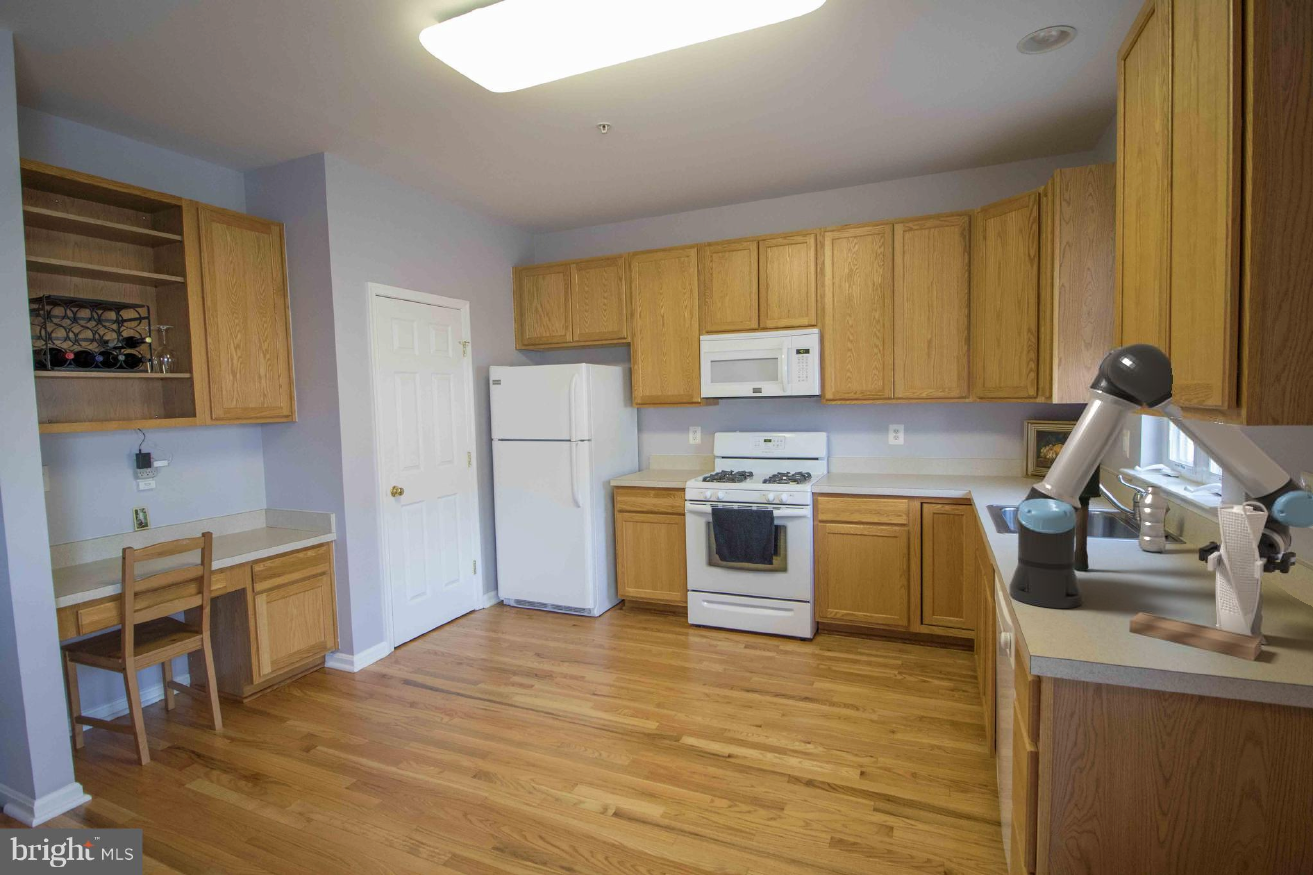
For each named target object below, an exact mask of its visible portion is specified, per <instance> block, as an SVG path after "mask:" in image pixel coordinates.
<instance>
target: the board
mask: <svg viewBox="0 0 1313 875" xmlns="http://www.w3.org/2000/svg"><path fill="white" fill-rule="evenodd" d="M1128 630H1129V632H1130V633H1133V634H1138V635H1143V636H1146V637H1151V638H1154V639H1160V640H1164V641H1166V642H1167V641H1168V642H1173V643H1175V644H1176V643H1177V644H1181V645H1183V646H1184V645H1185V646H1189V647H1193V648H1198V649H1203V650H1206V651H1210V652H1215V653H1218V654H1223V655H1228V656H1232V657H1237V658H1241V659H1244V660H1249V661H1255V659H1256V658H1257V657H1258V655H1259V654H1260V653H1261V651H1262V644H1261V640H1262V638H1260V637H1255V636H1251V635H1246V634H1241V633H1236V632H1232V631H1227V630H1222V629H1218V628H1216V627H1213V626H1207V625H1202V624H1197V623H1195V622H1188V621H1183V620H1179V619H1173V618H1170V617H1165V616H1160V615H1156V614H1150V613H1146V612H1141V611H1140V612H1138V613H1137V614H1136V615H1135V616H1133V617H1131V619H1129V628H1128Z"/></svg>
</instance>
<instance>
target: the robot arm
mask: <svg viewBox="0 0 1313 875" xmlns="http://www.w3.org/2000/svg"><path fill="white" fill-rule="evenodd" d="M1159 348H1160V347H1158V346H1156V345H1153V344H1149V343H1136V344H1135V343H1133V344H1130V345H1127V346H1126V345H1125V346H1121V347H1118V348H1116V349H1114V350H1112V351H1110V352H1109V353H1107V355H1105V356H1104V358H1103V359H1102V360H1101V363H1100V364H1099V368H1098V373H1097V374H1096V376H1095V378H1094V380H1093V381H1092V382H1091V385H1090V386H1089V388H1088V391H1089V393H1090V396H1091V398H1090V400H1089V402H1088V404H1087V405H1086V407H1085V408H1084V410H1083V412H1082V414H1081V415H1080V417H1079V419H1078V421H1077V422H1076V424H1075V426H1074V428H1073V429H1072V431H1071V433H1070V434H1069V436H1068V438H1067V440H1066V441H1065V442H1064V444H1063V446H1062V447H1061V450H1060V452H1059V453H1058V455H1057V457H1056V459H1055V460H1054V461H1053V464H1052V465H1051V466H1050V468H1049V471H1048V472H1047V474H1046V475H1045V477H1044V478H1043V480H1042V481H1041V482H1038V483H1035V484H1032V486H1031V488H1030V489H1029V491H1028V493H1027V495H1026V496H1025V498H1024V499H1023V500H1022V501H1021V502H1020V503H1019V504H1018V505H1017V507H1016V510H1015V511H1014V512H1015V513H1014V522H1015V526H1016V529H1017V534H1018V536H1017V541H1018V542H1017V545H1018V546H1017V565H1016V568H1015V570H1014V573H1013V575H1012V577H1011V578H1012V579H1011V581H1010V583H1009V589H1008V590H1009V593H1008V594H1009V596H1010V597H1011V598H1013V599H1014V600H1016V601H1019V602H1021V603H1025V604H1027V605H1031V606H1037V607H1043V608H1051V609H1052V608H1053V609H1072V608H1073V609H1074V608H1076V607H1081V606H1082V605H1083V595H1084V594H1083V592H1082V588H1081V585H1080V583H1079V581H1078V578H1077V574H1076V570H1075V569H1074V555H1075V539H1076V514H1077V513H1078V511H1079V509H1080V508H1081V505H1080V502H1079V498H1078V497H1079V496H1080V494H1081V492H1082V491H1083V489H1084V487H1085V486H1086V484H1087V482H1088V481H1089V479H1090V478H1091V476H1092V474H1093V473H1094V471H1095V469H1096V468H1097V466H1098V464H1100V463H1101V461H1102V459H1103V457H1104V456H1105V454H1106V452H1107V451H1108V450H1109V448H1110V447H1111V445H1112V444H1113V441H1114V439H1115V438H1116V436H1117V434H1118V433H1119V431H1120V430H1121V428H1122V426H1123V425H1124V423H1125V422H1126V420H1127V418H1128V416H1129V414H1130V413H1132V412H1135V411H1137V410H1141V409H1142V408H1143V406H1144V405H1146V406H1147V407H1148V408H1149V410H1158V411H1159V412H1160V413H1162V415H1163V416H1165V417H1166V418H1167V419H1168V420H1169V421H1170V422H1171V423H1172V424H1173V425H1174V426H1175V427H1177V429H1179V431H1180V432H1182V434H1184V435H1185V436H1186V437H1187V438H1188V439H1189V440H1190V441H1191V442H1192V443H1193V444H1194V445H1195V446H1197V447H1198V448H1199V449H1200V450H1201V451H1202V452H1203V453H1204V454H1205V455H1206V456H1207V457H1209V459H1210V460H1211V461H1213V463H1215V464H1216V466H1218V467H1219V468H1220V469H1221V470H1222V471H1223V472H1224V473H1225V474H1227V476H1229V477H1230V478H1231V479H1232V480H1233V481H1234V482H1235V483H1236V484H1237V485H1238V486H1239V487H1241V489H1243V490H1244V503H1245V502H1249V501H1253V502H1258V503H1261V504H1262V505H1263V506H1264V507H1265V508H1266V510H1267V512H1268V516H1267V519H1266V522H1265V525H1264V529H1263V532H1262V535H1261V538H1260V541H1259V543H1258V546H1257V547H1258V552H1259V557H1260V561H1258V562H1256V563H1255V573H1254V578H1259V579H1260V578H1261V579H1262V577H1263V576H1264V575H1265V574H1266V573H1267V574H1268V573H1269V574H1271V573H1275V572H1276V571H1279V573H1281V574H1285V575H1286V574H1289V572H1290V569H1291V567H1292V566H1295V565H1296V561H1297V560H1296V559H1297V558H1296V557H1297V554H1296V552H1294V551H1288V550H1289V548H1290V547H1291V546H1292V540H1293V536H1292V534H1291V531H1290V530H1291V529H1290V528H1291V527H1293V528H1302V529H1303V528H1304V529H1306V528H1309V527H1310V528H1311V527H1313V493H1312V492H1310V491H1306V490H1305V489H1304V488H1303V486H1301V485H1300V484H1299V483H1298V482H1297V481H1296V480H1294V478H1292V475H1290V473H1287V472H1286V471H1285V470H1284V469H1283V468H1281V467H1280V465H1278V464H1277V463H1276V462H1275V461H1274V460H1273V459H1272V458H1271V457H1269V456H1268V455H1267V454H1266V453H1265V452H1264V451H1263V450H1262V449H1261V448H1260V447H1259V446H1257V445H1256V444H1255V443H1254V442H1253V441H1252V440H1251V439H1250V438H1249V437H1248V436H1247V435H1245V433H1243V432H1242V431H1241V430H1240V429H1239V428H1238V426H1236V425H1235V426H1231V425H1227V424H1219V423H1215V422H1207V421H1199V420H1188V419H1178V418H1171V417H1182V416H1181V415H1183V411H1182V410H1181V408H1180V407H1178V406H1174V405H1173V404H1171V401H1172V393H1171V391H1172V384H1173V375H1172V368H1171V362H1170V361H1169V358H1168V357H1167V356H1166V355H1165V354H1164V353H1163V352H1162V351H1161V350H1162V349H1161V348H1160V349H1161V350H1160V349H1159ZM1245 506H1250V507H1253V511H1258V512H1264V513H1265V511H1264V509H1263V508H1262V507H1261V506H1259V505H1256V504H1246V505H1245ZM1220 548H1221V543H1218V542H1216V541H1209V543H1208V544H1206V545H1204V546H1201V547H1199V548H1198V561H1201V562H1204V563H1205V564H1207V571H1210V572H1214V571H1215V569H1216V570H1217V567H1218V566H1219V562H1220Z"/></svg>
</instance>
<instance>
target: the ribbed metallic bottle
mask: <svg viewBox="0 0 1313 875" xmlns="http://www.w3.org/2000/svg"><path fill="white" fill-rule="evenodd" d="M1144 492H1145V493H1146V494H1144V495H1143V497H1141V499H1140V500H1139V504H1138V505H1139V510H1140V511H1139V512H1140V520H1141V522H1140V523H1141V524H1140V532H1139V537H1138V541H1137V542H1138V546H1139V548H1140V549H1141V550H1143V551H1147V552H1150V553H1160V552H1164V551H1165V549H1166V546H1167V542H1166V537H1165V526H1164V525H1165V523H1164V522H1165V516H1166V512H1167V511H1166V510H1167V502H1166V500H1165V499H1164V497H1163V496H1162V495H1161V494H1162V486H1158V485H1157V486H1156V485H1146V486H1145V490H1144Z"/></svg>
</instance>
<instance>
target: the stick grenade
mask: <svg viewBox="0 0 1313 875" xmlns="http://www.w3.org/2000/svg"><path fill="white" fill-rule="evenodd" d="M1100 484H1101V464H1100V463H1099V464H1098V466H1097V468H1096V469H1095V471H1094V473H1093V474H1092V476H1091V478H1090V479H1089V481H1088V482H1087V484H1086V486H1085V487H1084V489H1083V491H1082V492H1081V494H1080V496H1079V497H1078V498H1079V502H1080V505H1081V508H1080V509H1079V511H1078V513H1077V514H1076V523H1075V555H1074V571H1077V572H1087V571H1088V570H1089V568H1090V565H1089V554H1088V521H1089V516H1090V515H1089V514H1090V513H1089V512H1090V500H1091V499H1096V498H1101V497H1102V493H1101V492H1100V489H1101V487H1100V486H1101V485H1100Z"/></svg>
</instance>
